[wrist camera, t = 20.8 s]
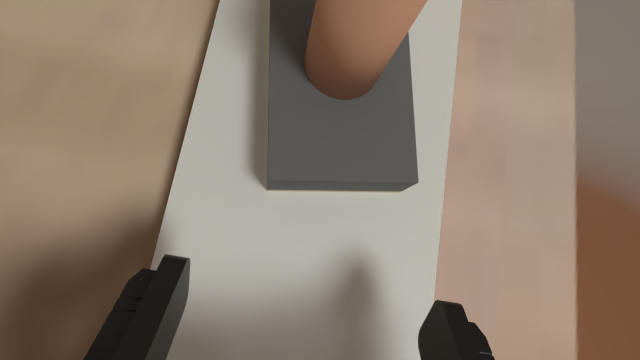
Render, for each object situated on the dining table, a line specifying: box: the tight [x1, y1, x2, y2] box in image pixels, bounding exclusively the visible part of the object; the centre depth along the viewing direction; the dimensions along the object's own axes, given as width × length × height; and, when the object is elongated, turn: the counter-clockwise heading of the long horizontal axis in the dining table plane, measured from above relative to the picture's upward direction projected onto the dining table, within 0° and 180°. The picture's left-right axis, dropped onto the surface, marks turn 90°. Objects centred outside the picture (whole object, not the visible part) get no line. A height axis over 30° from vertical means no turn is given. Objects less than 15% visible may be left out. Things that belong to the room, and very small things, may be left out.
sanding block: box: [267, 0, 428, 193], centre depth 15 cm, size 10×6×8 cm, turn 1°
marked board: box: [150, 0, 462, 360], centre depth 19 cm, size 26×12×2 cm, turn 170°
